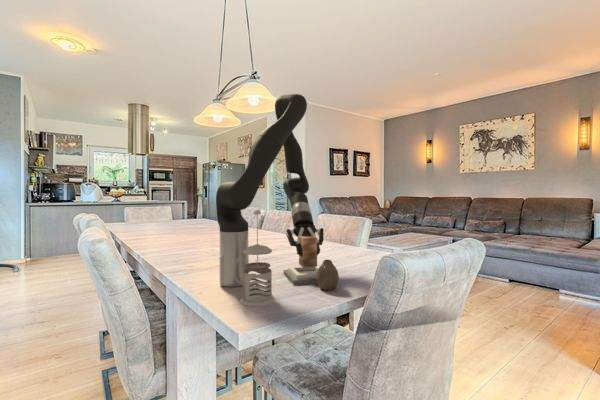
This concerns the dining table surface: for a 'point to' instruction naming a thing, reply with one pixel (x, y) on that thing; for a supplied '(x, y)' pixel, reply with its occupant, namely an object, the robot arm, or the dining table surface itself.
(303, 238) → the copper rectangular block
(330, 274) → the vase
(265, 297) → the french press
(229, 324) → the dining table surface
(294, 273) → the pocket board
